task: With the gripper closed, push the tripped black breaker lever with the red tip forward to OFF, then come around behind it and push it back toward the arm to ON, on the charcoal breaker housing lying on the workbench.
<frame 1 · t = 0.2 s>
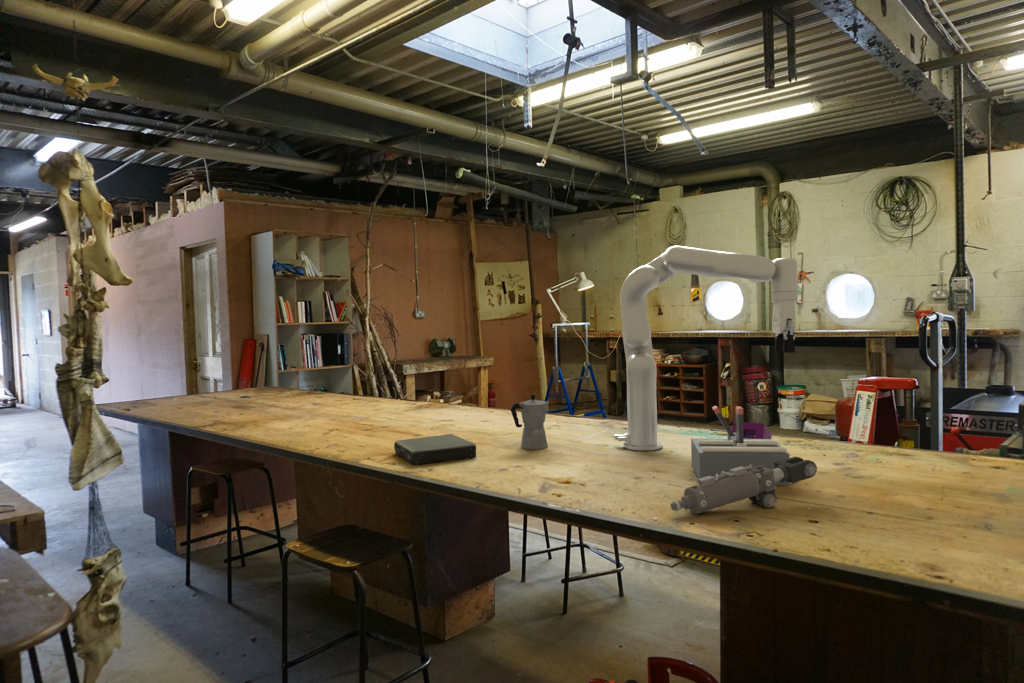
hand: (784, 351, 199), 31 cm above the table, fingers open, 9 cm apart
network switch: (434, 457, 204), on the table
coffeepot: (531, 447, 213), on the table
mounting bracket: (753, 449, 202), on the table
breaker housing: (737, 474, 170), on the table
breaker lever: (739, 427, 166), point 14 cm above the table, hinge at 0.0°
hydraulic cylinder: (742, 507, 143), on the table
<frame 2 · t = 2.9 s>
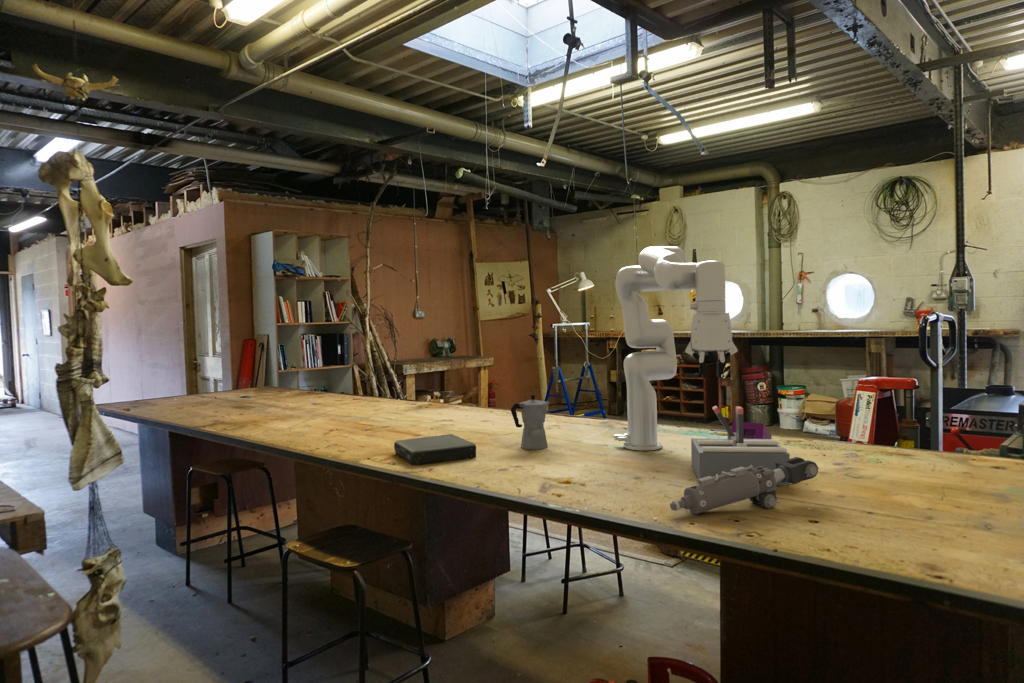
hand: (711, 376, 166), 27 cm above the table, fingers open, 3 cm apart
nothing on the table moved.
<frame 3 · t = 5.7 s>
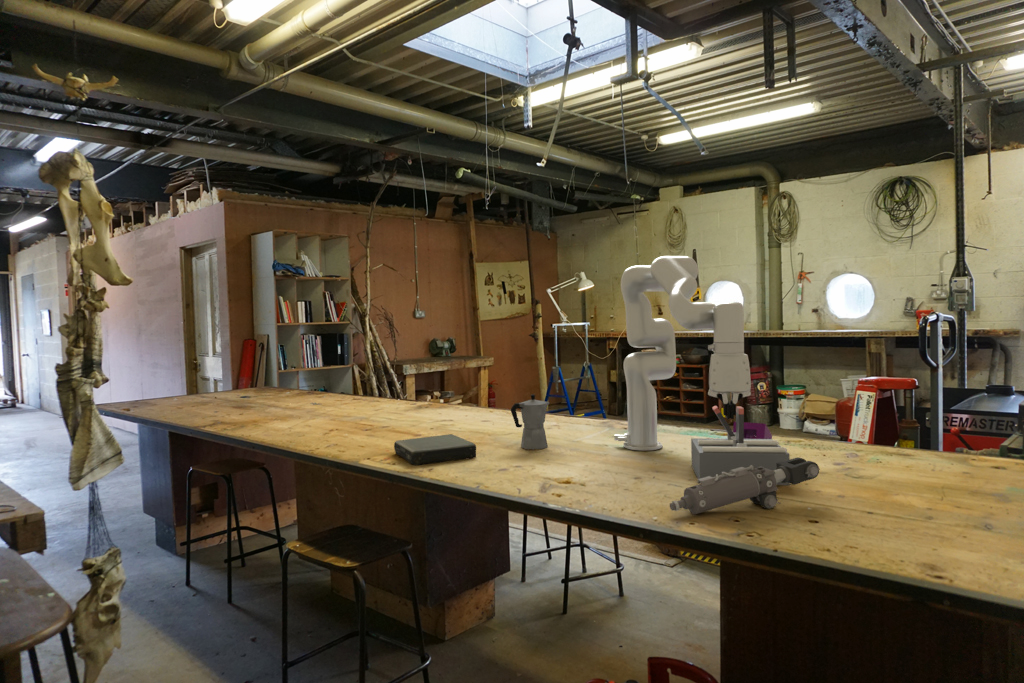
hand: (729, 418, 166), 16 cm above the table, fingers closed
breaker lever: (739, 427, 166), point 14 cm above the table, hinge at 0.9°, touching gripper
everything else where it was.
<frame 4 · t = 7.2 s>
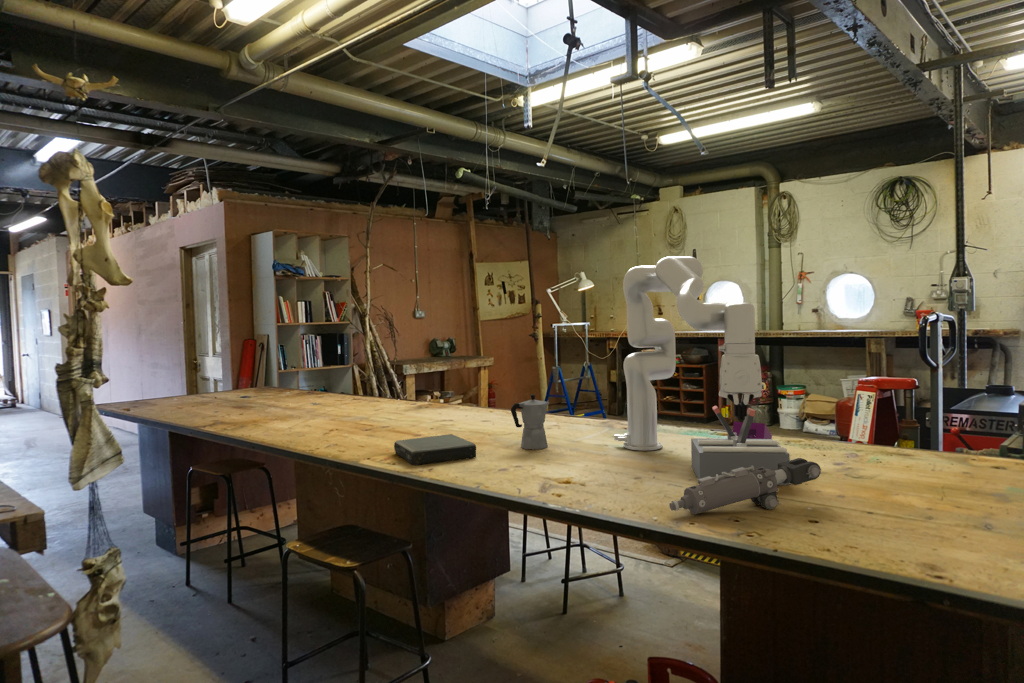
hand: (740, 418, 166), 16 cm above the table, fingers closed
breaker lever: (745, 428, 165), point 13 cm above the table, hinge at 18.3°
everything else where it was.
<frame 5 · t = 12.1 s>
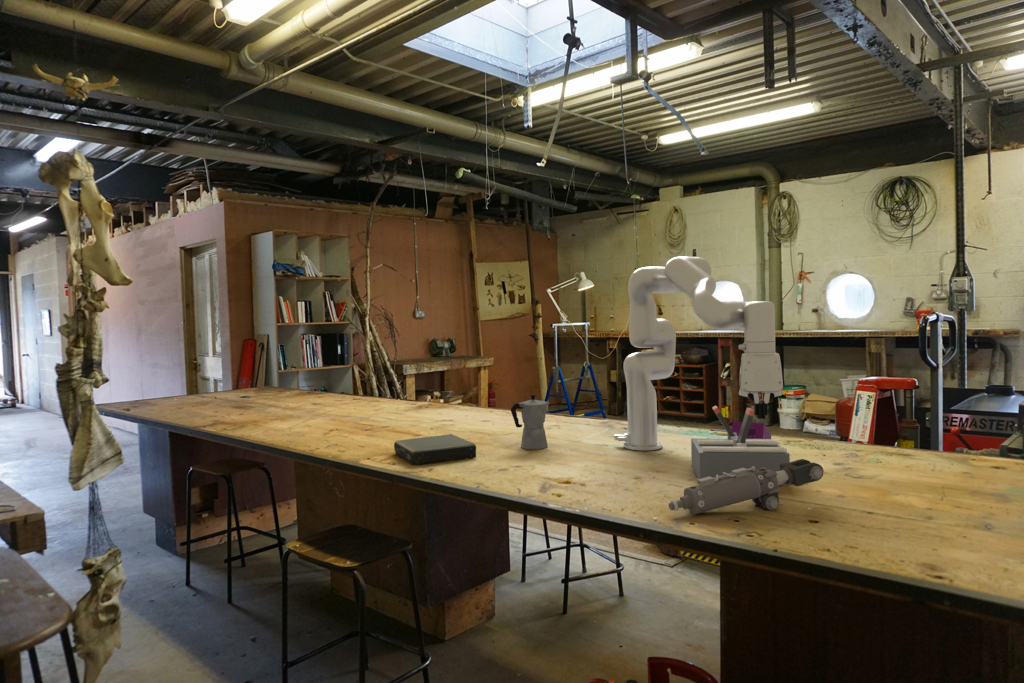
hand: (760, 418, 165), 16 cm above the table, fingers closed
breaker lever: (744, 428, 165), point 14 cm above the table, hinge at 16.6°, touching gripper
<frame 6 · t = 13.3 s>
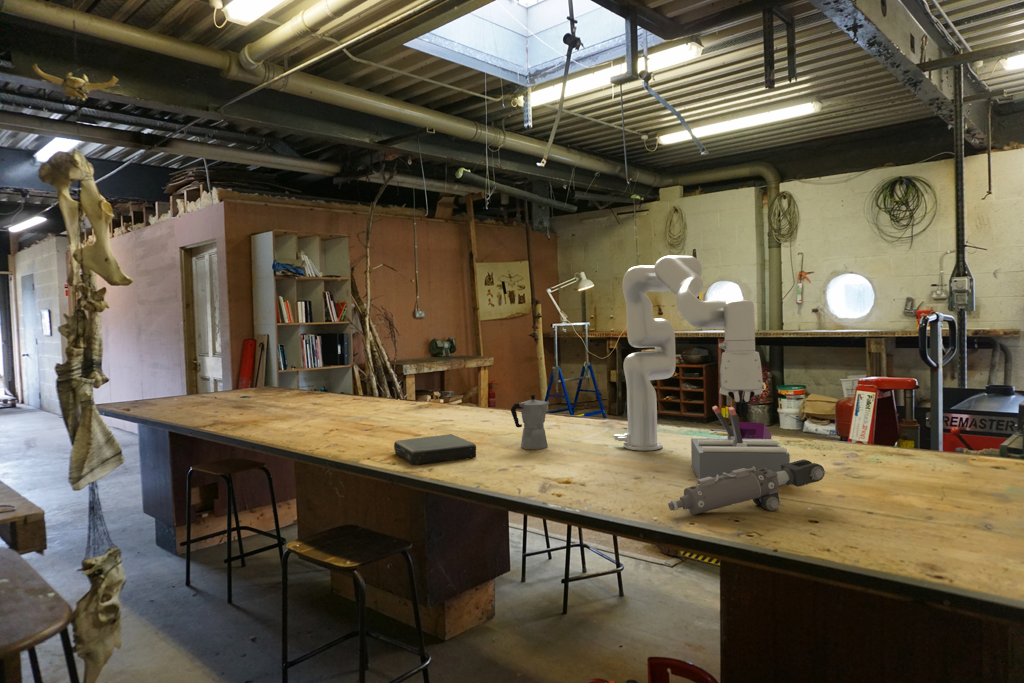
hand: (741, 416, 165), 17 cm above the table, fingers closed
breaker lever: (735, 427, 166), point 14 cm above the table, hinge at -11.8°, touching gripper
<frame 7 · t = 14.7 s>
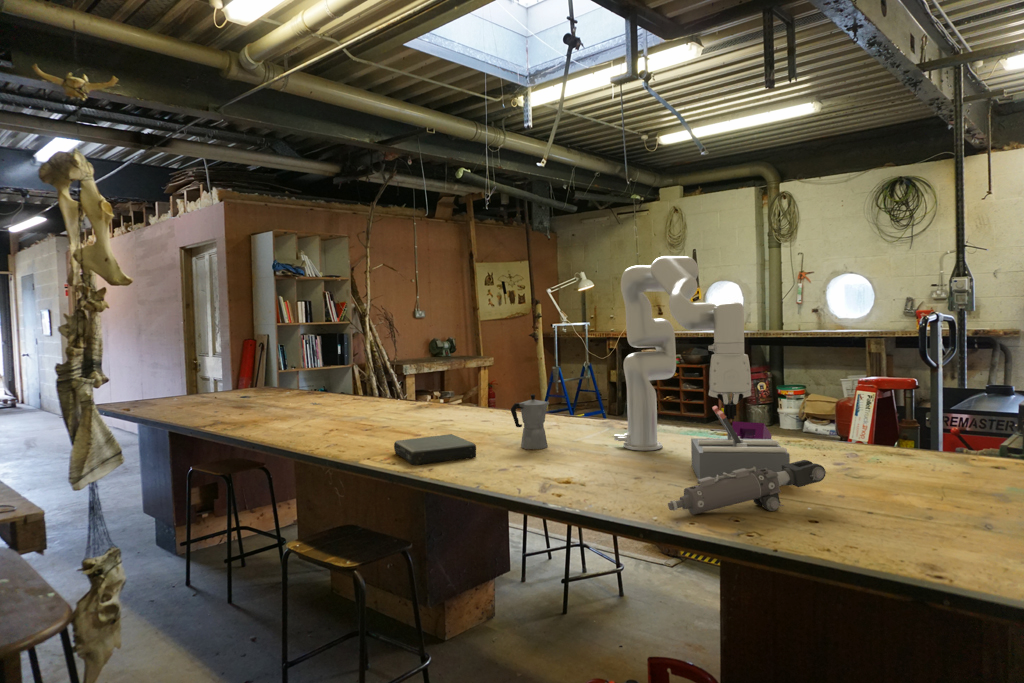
hand: (730, 418, 166), 16 cm above the table, fingers closed
breaker lever: (730, 429, 166), point 13 cm above the table, hinge at -29.7°, touching gripper
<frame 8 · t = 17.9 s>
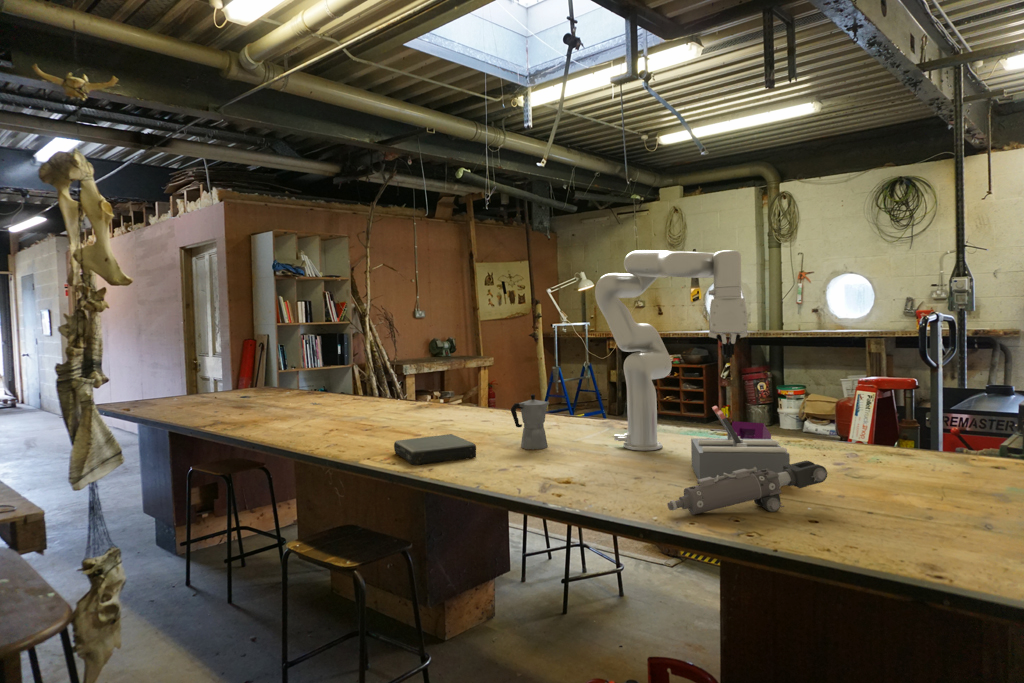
hand: (728, 357, 181), 31 cm above the table, fingers closed
breaker lever: (730, 429, 166), point 13 cm above the table, hinge at -29.9°
at the end: breaker lever at -30° (first picture: +0°) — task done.
